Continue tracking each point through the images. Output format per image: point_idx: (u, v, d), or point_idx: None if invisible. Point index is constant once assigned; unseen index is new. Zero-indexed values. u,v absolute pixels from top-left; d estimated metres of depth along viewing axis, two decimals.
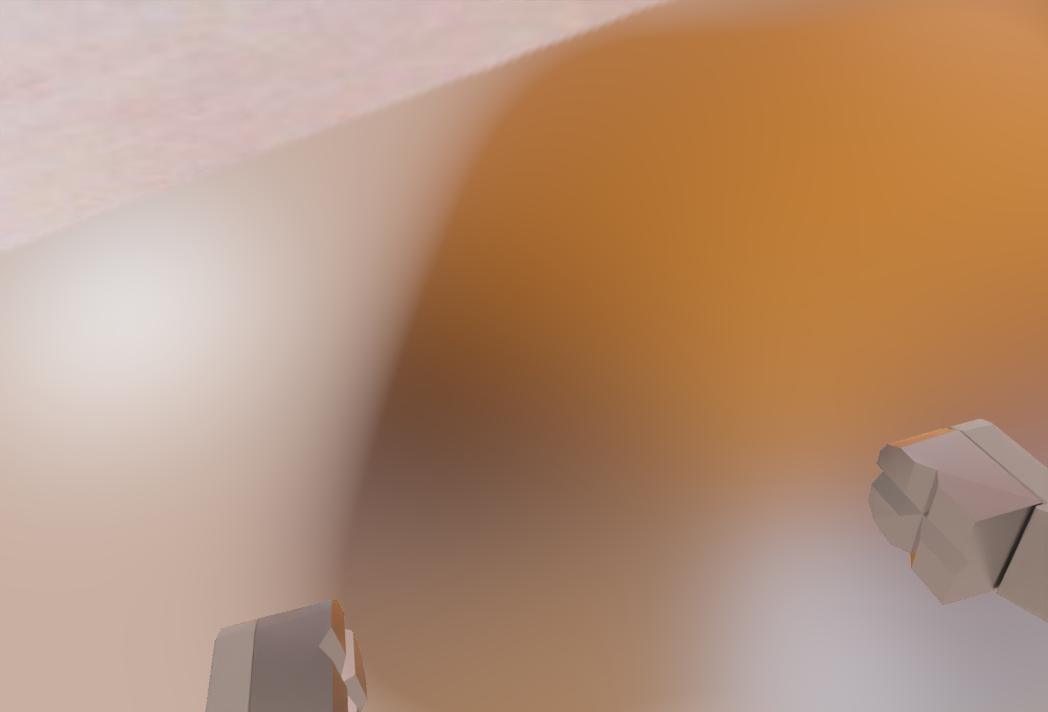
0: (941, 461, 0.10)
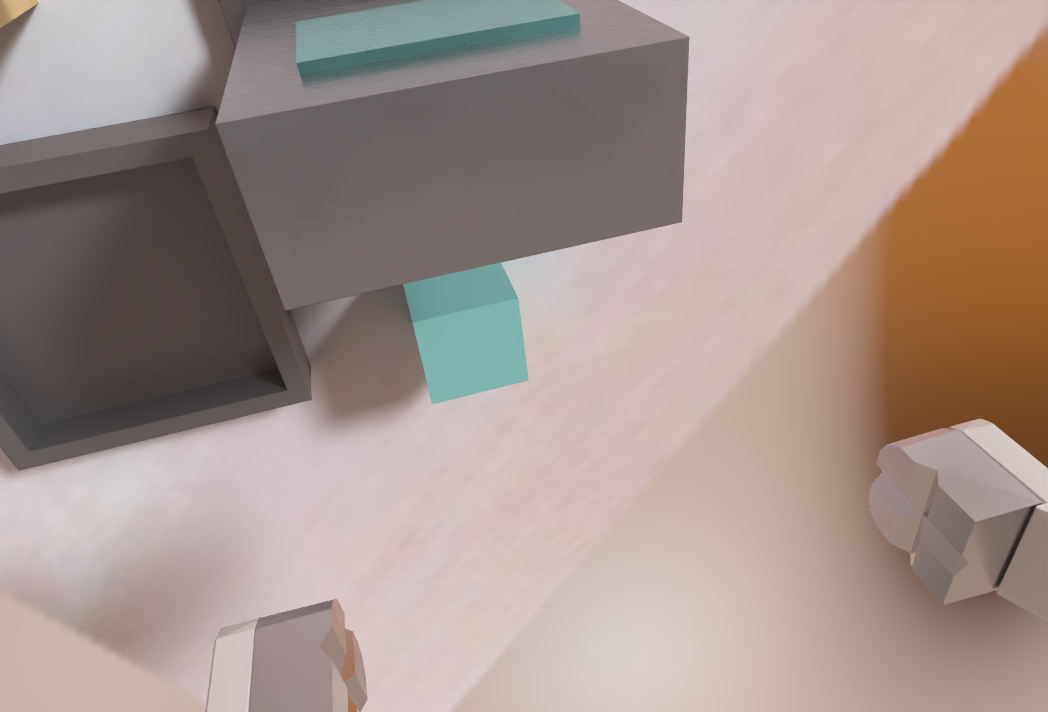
0: (941, 461, 0.10)
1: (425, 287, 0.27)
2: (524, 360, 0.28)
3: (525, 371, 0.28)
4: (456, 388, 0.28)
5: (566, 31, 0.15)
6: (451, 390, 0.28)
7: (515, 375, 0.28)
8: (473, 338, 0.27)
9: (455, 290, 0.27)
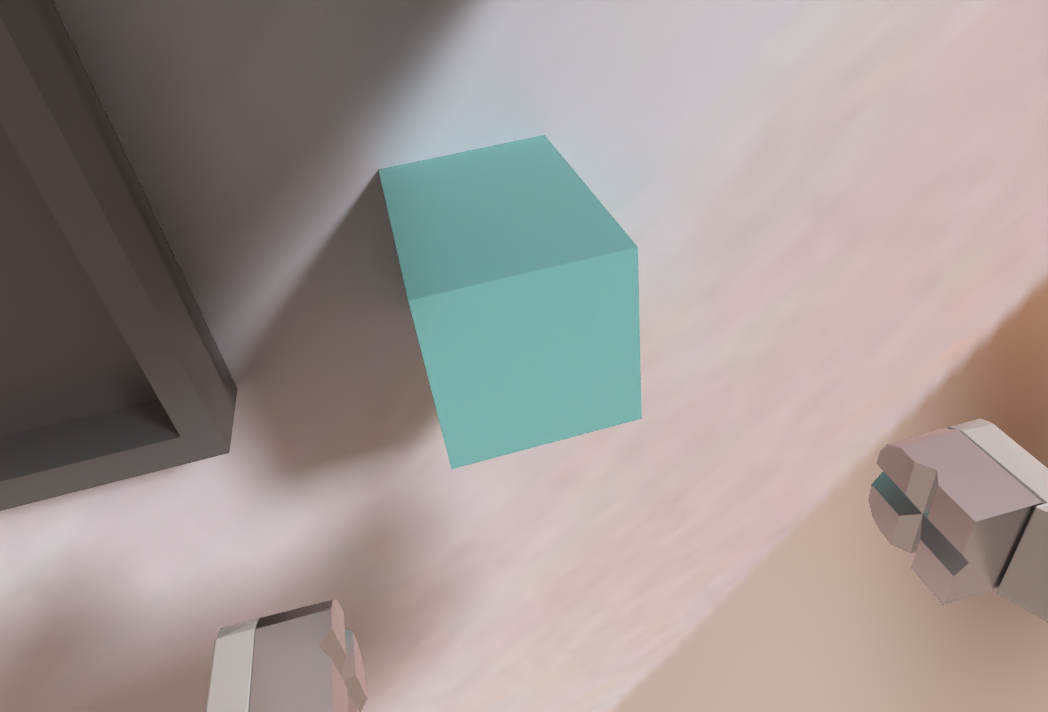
0: (941, 461, 0.10)
1: (437, 232, 0.13)
2: (637, 380, 0.14)
3: (637, 401, 0.14)
4: (500, 437, 0.14)
5: None
6: (490, 441, 0.14)
7: (617, 410, 0.14)
8: (538, 334, 0.13)
9: (499, 236, 0.13)
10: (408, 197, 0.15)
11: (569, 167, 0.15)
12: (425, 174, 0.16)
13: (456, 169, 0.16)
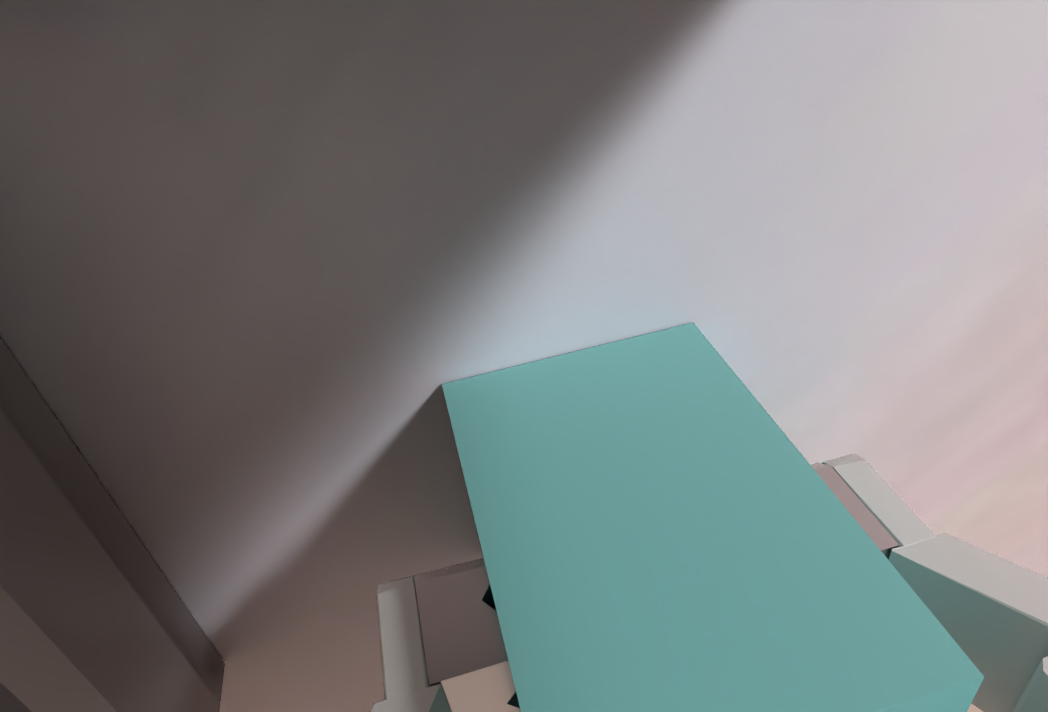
0: None
1: (567, 574, 0.08)
2: None
3: None
4: None
5: None
6: None
7: None
8: None
9: (687, 601, 0.07)
10: (500, 463, 0.09)
11: (760, 408, 0.09)
12: (519, 404, 0.10)
13: (568, 395, 0.10)
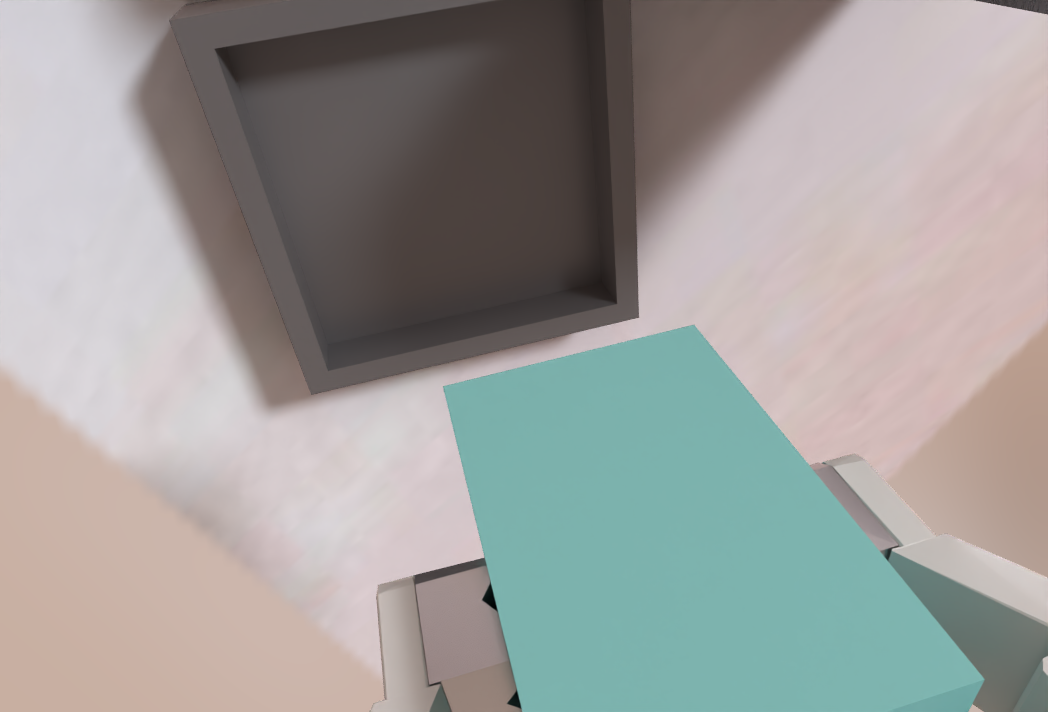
0: None
1: (569, 577, 0.08)
2: None
3: None
4: None
5: None
6: None
7: None
8: None
9: (688, 604, 0.07)
10: (501, 466, 0.09)
11: (761, 410, 0.09)
12: (521, 406, 0.10)
13: (569, 397, 0.10)
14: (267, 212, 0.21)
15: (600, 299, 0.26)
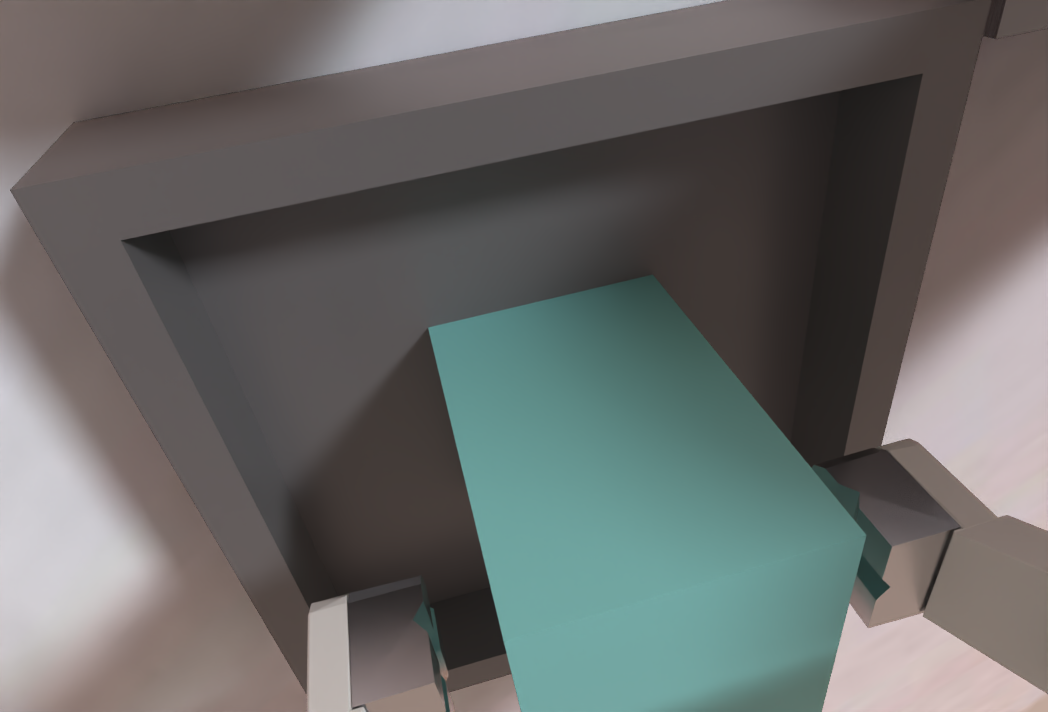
0: (865, 483, 0.09)
1: (531, 470, 0.09)
2: (825, 682, 0.09)
3: (818, 703, 0.10)
4: None
5: None
6: None
7: None
8: (696, 652, 0.08)
9: (628, 487, 0.08)
10: (476, 388, 0.10)
11: (704, 341, 0.11)
12: (495, 342, 0.11)
13: (539, 334, 0.11)
14: (246, 503, 0.11)
15: None
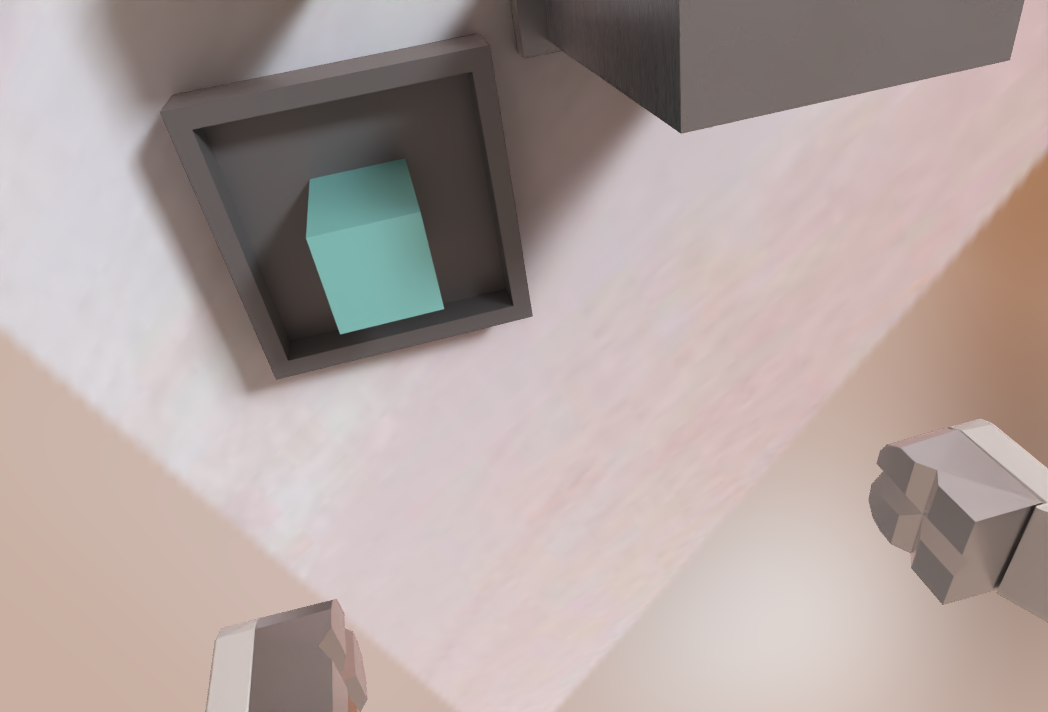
0: (941, 461, 0.10)
1: (329, 208, 0.26)
2: (436, 285, 0.26)
3: (439, 298, 0.27)
4: (364, 316, 0.26)
5: None
6: (359, 318, 0.26)
7: (429, 303, 0.27)
8: (376, 257, 0.25)
9: (358, 209, 0.26)
10: (321, 193, 0.27)
11: (409, 175, 0.28)
12: (333, 181, 0.28)
13: (351, 177, 0.28)
14: (235, 242, 0.28)
15: (501, 302, 0.33)
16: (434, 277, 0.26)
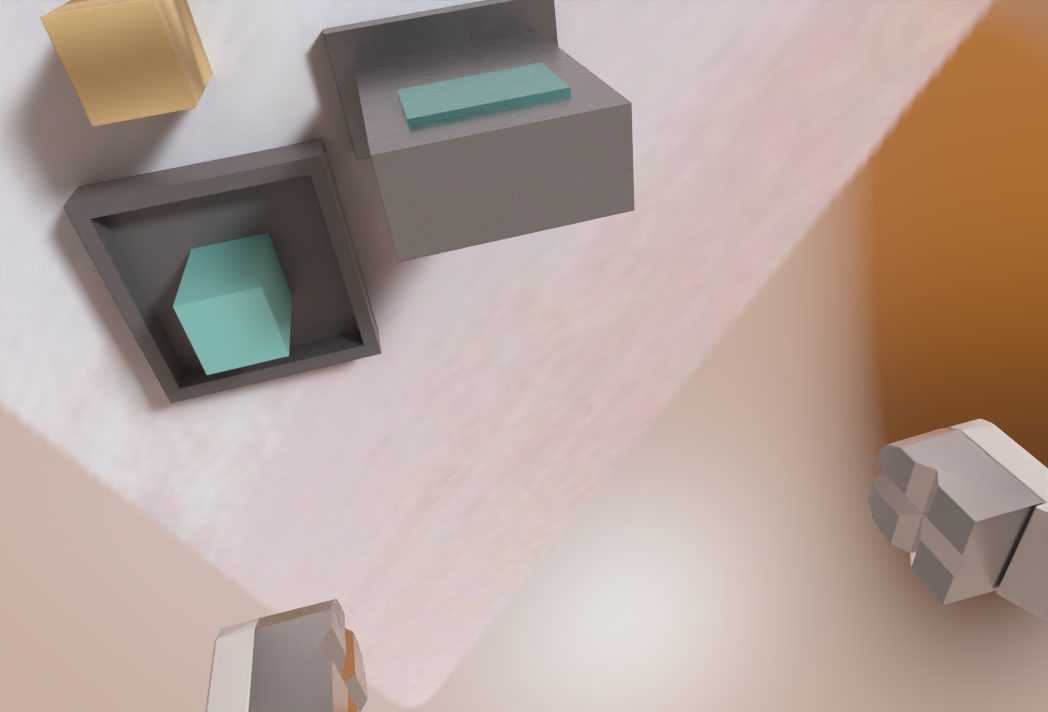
0: (941, 461, 0.10)
1: (197, 279, 0.34)
2: (280, 339, 0.34)
3: (284, 348, 0.35)
4: (225, 362, 0.34)
5: (563, 98, 0.25)
6: (221, 363, 0.34)
7: (276, 351, 0.35)
8: (229, 319, 0.33)
9: (218, 281, 0.34)
10: (195, 263, 0.35)
11: (265, 250, 0.36)
12: (208, 252, 0.36)
13: (222, 250, 0.36)
14: (129, 299, 0.36)
15: (356, 342, 0.41)
16: (278, 333, 0.34)
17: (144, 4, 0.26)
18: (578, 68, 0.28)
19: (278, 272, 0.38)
